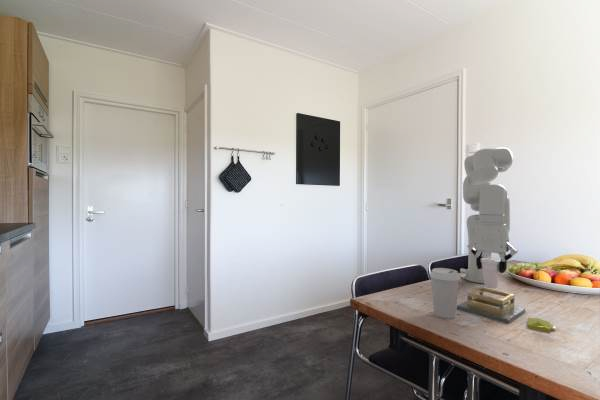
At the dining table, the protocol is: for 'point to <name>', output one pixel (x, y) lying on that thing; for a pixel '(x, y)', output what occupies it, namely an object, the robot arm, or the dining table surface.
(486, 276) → the smoothie
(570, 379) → the dining table surface
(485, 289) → the collar stand
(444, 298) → the coffee cup
